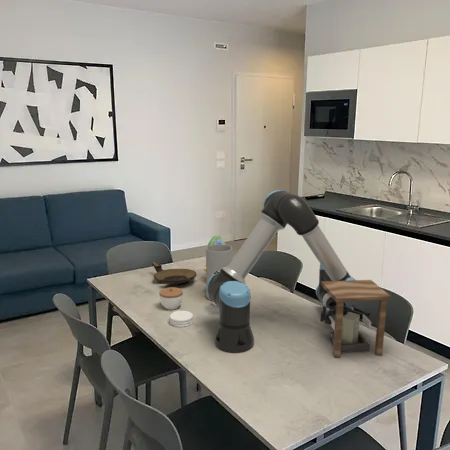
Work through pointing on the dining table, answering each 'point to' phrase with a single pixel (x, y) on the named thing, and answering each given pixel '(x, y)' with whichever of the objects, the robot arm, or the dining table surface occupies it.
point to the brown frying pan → (173, 275)
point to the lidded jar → (171, 297)
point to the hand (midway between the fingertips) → (352, 326)
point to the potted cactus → (215, 241)
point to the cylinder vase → (216, 259)
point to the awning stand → (352, 293)
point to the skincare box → (350, 328)
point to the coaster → (181, 318)
